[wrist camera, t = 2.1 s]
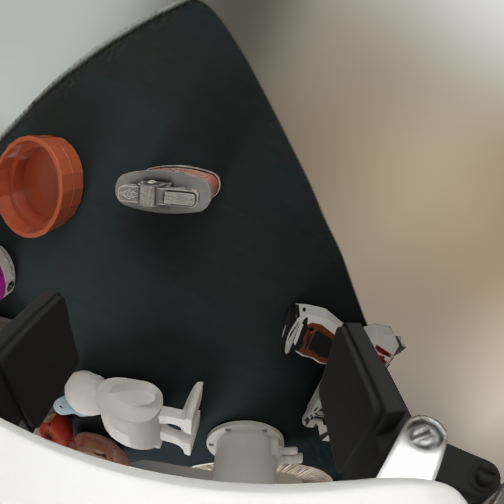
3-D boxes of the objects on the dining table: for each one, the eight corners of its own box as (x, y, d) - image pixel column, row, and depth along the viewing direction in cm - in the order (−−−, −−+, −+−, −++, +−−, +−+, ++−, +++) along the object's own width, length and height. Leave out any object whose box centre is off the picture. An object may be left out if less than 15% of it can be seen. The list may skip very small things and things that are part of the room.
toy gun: (246, 436, 38) (342, 449, 38) (293, 316, 30) (415, 341, 30) (249, 414, 42) (339, 428, 42) (292, 296, 35) (404, 321, 34)
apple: (45, 398, 41) (23, 434, 32) (76, 411, 42) (55, 451, 32) (54, 422, 44) (35, 456, 34) (82, 434, 44) (65, 471, 35)
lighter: (143, 194, 30) (101, 215, 21) (145, 162, 29) (102, 170, 20) (219, 201, 31) (204, 226, 21) (222, 168, 30) (209, 178, 20)
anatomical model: (105, 423, 36) (158, 450, 45) (39, 409, 40) (89, 439, 49) (92, 485, 28) (151, 500, 37) (25, 457, 32) (81, 480, 41)
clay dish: (86, 130, 28) (61, 129, 23) (89, 226, 31) (66, 239, 27) (19, 141, 28) (-7, 143, 23) (23, 225, 31) (0, 236, 26)
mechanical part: (94, 413, 40) (80, 394, 41) (99, 405, 39) (84, 386, 41) (59, 426, 32) (45, 404, 33) (63, 418, 32) (49, 396, 33)
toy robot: (204, 372, 37) (74, 332, 38) (187, 424, 29) (41, 370, 29) (199, 429, 42) (89, 393, 43) (186, 473, 34) (66, 429, 34)
